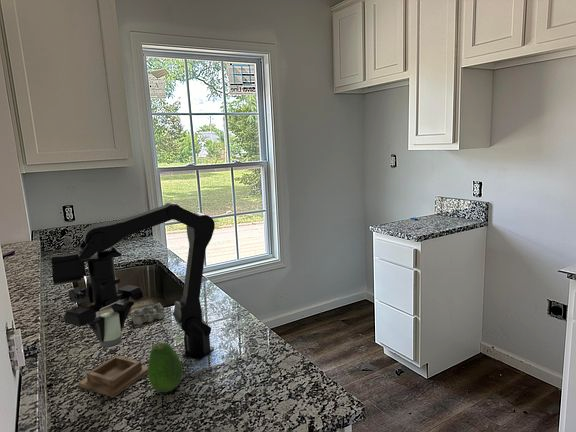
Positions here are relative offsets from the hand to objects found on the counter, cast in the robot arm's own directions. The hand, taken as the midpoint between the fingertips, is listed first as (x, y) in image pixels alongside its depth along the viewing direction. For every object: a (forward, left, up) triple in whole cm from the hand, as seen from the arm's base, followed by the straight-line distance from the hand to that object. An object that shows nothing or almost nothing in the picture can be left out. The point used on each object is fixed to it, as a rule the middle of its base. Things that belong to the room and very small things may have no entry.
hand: (110, 336), depth 98 cm
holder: (0, 0, -11) cm, 11 cm away
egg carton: (+19, -30, -12) cm, 38 cm away
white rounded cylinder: (0, 0, -2) cm, 2 cm away
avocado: (-16, -1, -12) cm, 20 cm away
